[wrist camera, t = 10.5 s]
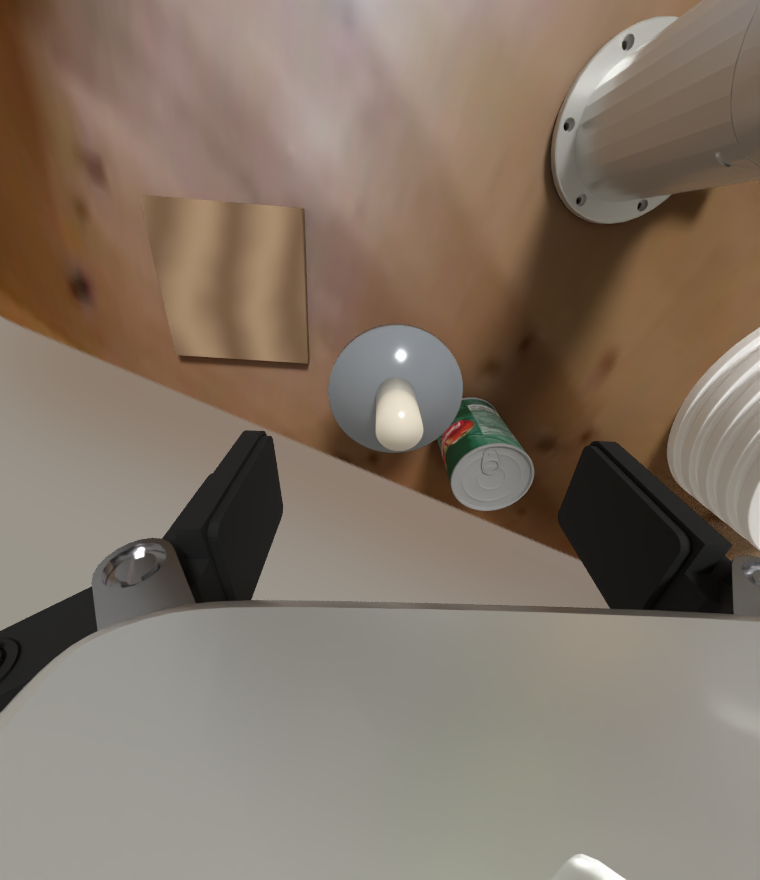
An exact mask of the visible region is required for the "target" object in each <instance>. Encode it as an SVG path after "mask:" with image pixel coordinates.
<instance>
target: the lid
mask: <svg viewBox="0 0 760 880" xmlns="http://www.w3.org/2000/svg"><path fill="white" fill-rule="evenodd" d="M462 394H463V382H462V376H461V372H460V369H459V366H458V364H457V362H456V360H455V358H454V357H453V355H452V354H451V352H450V351H449V349H448V348H447V347H446V346H445V344H444V343H443V342H442V341H441V340H439V339H438V338H437V337H436V336H435V335H433V334H431V333H430V332H428V331H426V330H424V329H421V328H419V327H415V326H412V325H406V324H387V325H381V326H377V327H374V328H371V329H369V330H367V331H365V332H363V333H361V334H360V335H358V336H356V337H355V338H354V339H353V340H352V341H350V342H349V343H348V344H347V345H346V346H345V348H344V349H343V350H342V352H341V353H340V354H339V356H338V358H337V360H336V362H335V364H334V367H333V370H332V373H331V375H330V380H329V387H328V396H329V403H330V407H331V411H332V413H333V416H334V418H335V419H336V421H337V423H338V425H339V426H340V427H341V429H342V430H343V431H344V432H345V433H346V434H347V435H348V436H349V437H350V438H352V439H353V440H354V441H356V442H357V443H359V444H361V445H363V446H365V447H367V448H370V449H373V450H376V451H381V452H388V453H400V452H408V451H412V450H416V449H418V448H421V447H423V446H425V445H427V444H429V443H431V442H433V441H434V440H436V439H437V438H438V437H439V436H441V435H442V434H443V433H444V432H445V431H446V430H447V429H448V427H449V426H450V425H451V423H452V422H453V420H454V419H455V417H456V415H457V413H458V410H459V408H460V405H461V401H462Z"/></svg>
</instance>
